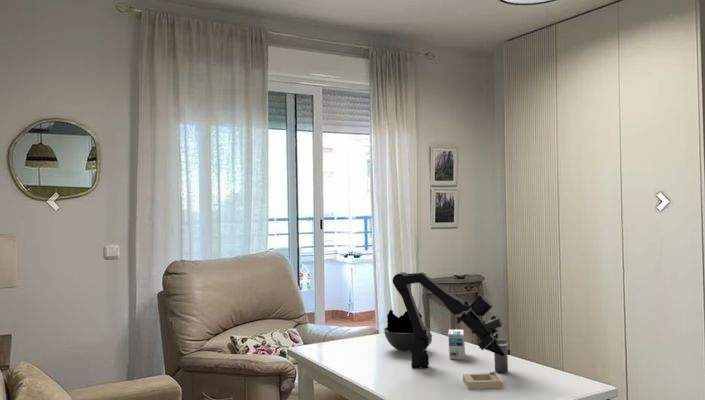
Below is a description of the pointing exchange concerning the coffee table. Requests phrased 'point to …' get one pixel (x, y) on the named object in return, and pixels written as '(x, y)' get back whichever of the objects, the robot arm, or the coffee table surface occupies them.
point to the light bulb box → (456, 344)
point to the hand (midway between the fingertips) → (504, 353)
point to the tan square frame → (482, 381)
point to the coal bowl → (400, 331)
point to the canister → (501, 361)
